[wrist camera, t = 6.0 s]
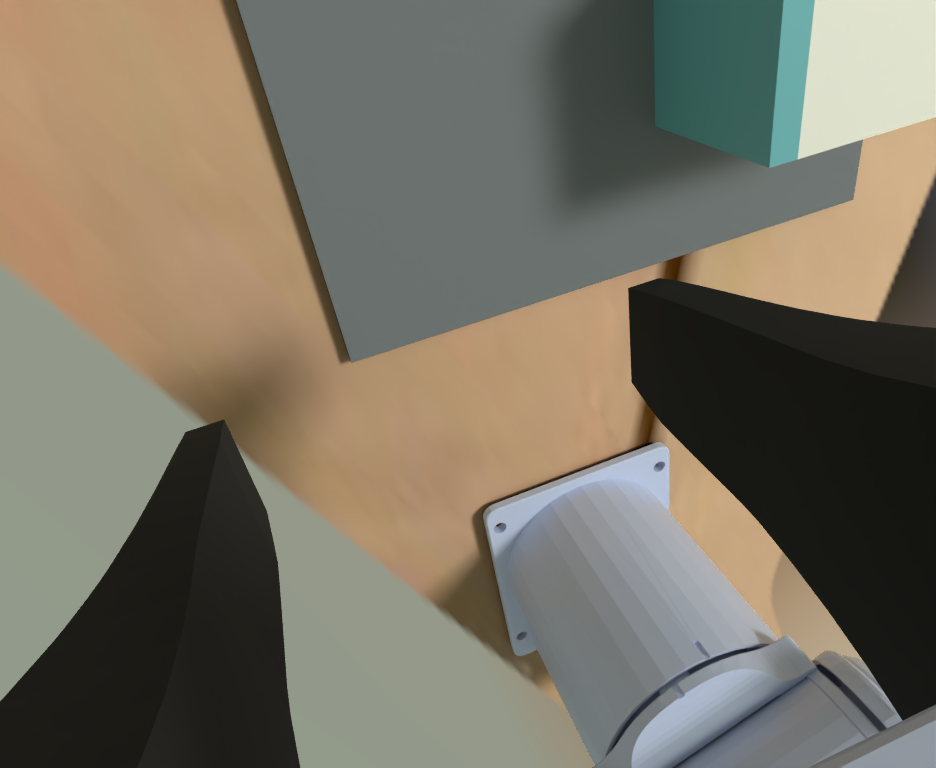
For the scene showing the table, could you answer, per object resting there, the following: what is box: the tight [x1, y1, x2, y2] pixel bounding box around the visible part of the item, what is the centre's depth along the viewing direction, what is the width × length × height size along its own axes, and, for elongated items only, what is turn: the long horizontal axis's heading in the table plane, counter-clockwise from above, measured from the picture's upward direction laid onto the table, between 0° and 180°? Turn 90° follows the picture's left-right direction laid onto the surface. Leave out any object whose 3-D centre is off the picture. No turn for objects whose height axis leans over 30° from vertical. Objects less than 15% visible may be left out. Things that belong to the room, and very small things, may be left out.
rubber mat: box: [236, 0, 863, 363], centre depth 19 cm, size 13×18×1 cm
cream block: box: [654, 0, 936, 168], centre depth 18 cm, size 5×5×7 cm
